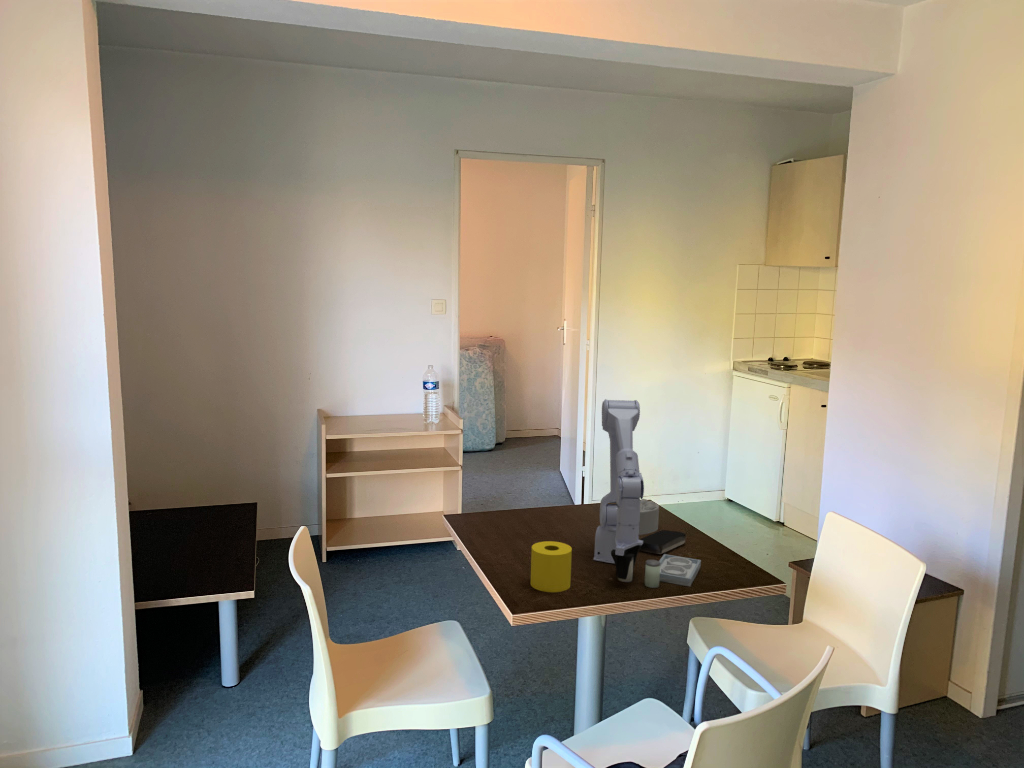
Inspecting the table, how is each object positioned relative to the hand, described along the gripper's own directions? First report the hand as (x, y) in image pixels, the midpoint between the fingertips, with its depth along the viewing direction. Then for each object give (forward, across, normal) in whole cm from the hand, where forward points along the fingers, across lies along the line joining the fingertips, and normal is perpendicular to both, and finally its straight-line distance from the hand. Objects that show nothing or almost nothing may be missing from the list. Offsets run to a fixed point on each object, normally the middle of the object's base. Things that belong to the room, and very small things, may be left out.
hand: (625, 574), depth 193 cm
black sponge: (+2, +29, -3) cm, 29 cm away
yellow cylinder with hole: (+2, -12, +16) cm, 20 cm away
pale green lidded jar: (+1, 0, -7) cm, 7 cm away
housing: (+1, +10, -11) cm, 15 cm away
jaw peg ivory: (+1, 0, 0) cm, 1 cm away
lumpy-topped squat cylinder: (+2, +44, +7) cm, 45 cm away
